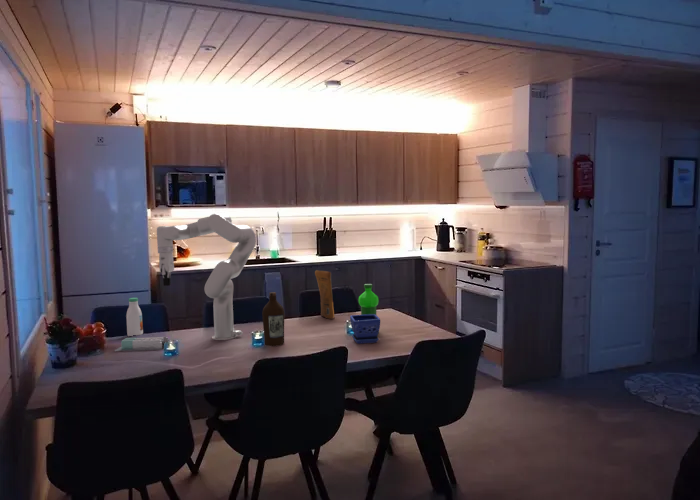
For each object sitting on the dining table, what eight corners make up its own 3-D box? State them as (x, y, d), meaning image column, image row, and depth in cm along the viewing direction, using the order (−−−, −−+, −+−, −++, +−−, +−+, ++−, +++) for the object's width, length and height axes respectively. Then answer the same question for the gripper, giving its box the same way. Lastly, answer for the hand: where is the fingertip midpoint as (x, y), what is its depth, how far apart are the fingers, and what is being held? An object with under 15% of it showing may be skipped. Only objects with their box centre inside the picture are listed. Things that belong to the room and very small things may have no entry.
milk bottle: (137, 337, 288) (135, 299, 287) (124, 337, 290) (122, 299, 288) (145, 333, 296) (143, 297, 294) (133, 333, 297) (130, 297, 296)
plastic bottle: (362, 335, 280) (360, 286, 278) (357, 330, 290) (356, 283, 288) (381, 333, 282) (380, 285, 280) (376, 329, 292) (374, 282, 290)
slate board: (181, 340, 277) (181, 339, 277) (169, 350, 257) (169, 349, 257) (129, 342, 277) (129, 340, 277) (113, 352, 257) (113, 351, 257)
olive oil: (260, 343, 268) (258, 292, 266) (281, 340, 273) (279, 290, 271) (266, 347, 259) (264, 295, 257) (288, 344, 263) (286, 293, 261)
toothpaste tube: (166, 345, 266) (166, 336, 265) (164, 346, 262) (164, 338, 262) (126, 346, 265) (126, 337, 265) (124, 348, 262) (123, 339, 262)
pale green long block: (168, 346, 262) (168, 336, 262) (166, 348, 259) (165, 338, 258) (124, 348, 262) (123, 337, 261) (121, 350, 258) (120, 339, 258)
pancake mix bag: (327, 320, 320) (325, 272, 318) (315, 314, 337) (313, 269, 335) (337, 318, 323) (336, 271, 321) (325, 313, 340) (324, 268, 338)
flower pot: (381, 343, 261) (381, 318, 260) (354, 345, 259) (353, 320, 258) (375, 337, 274) (375, 313, 273) (349, 339, 272) (349, 315, 271)
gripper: (168, 250, 276) (170, 287, 278) (176, 248, 291) (178, 283, 293) (153, 251, 276) (155, 287, 278) (162, 249, 291) (164, 283, 293)
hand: (167, 285), depth 285 cm, fingers closed
